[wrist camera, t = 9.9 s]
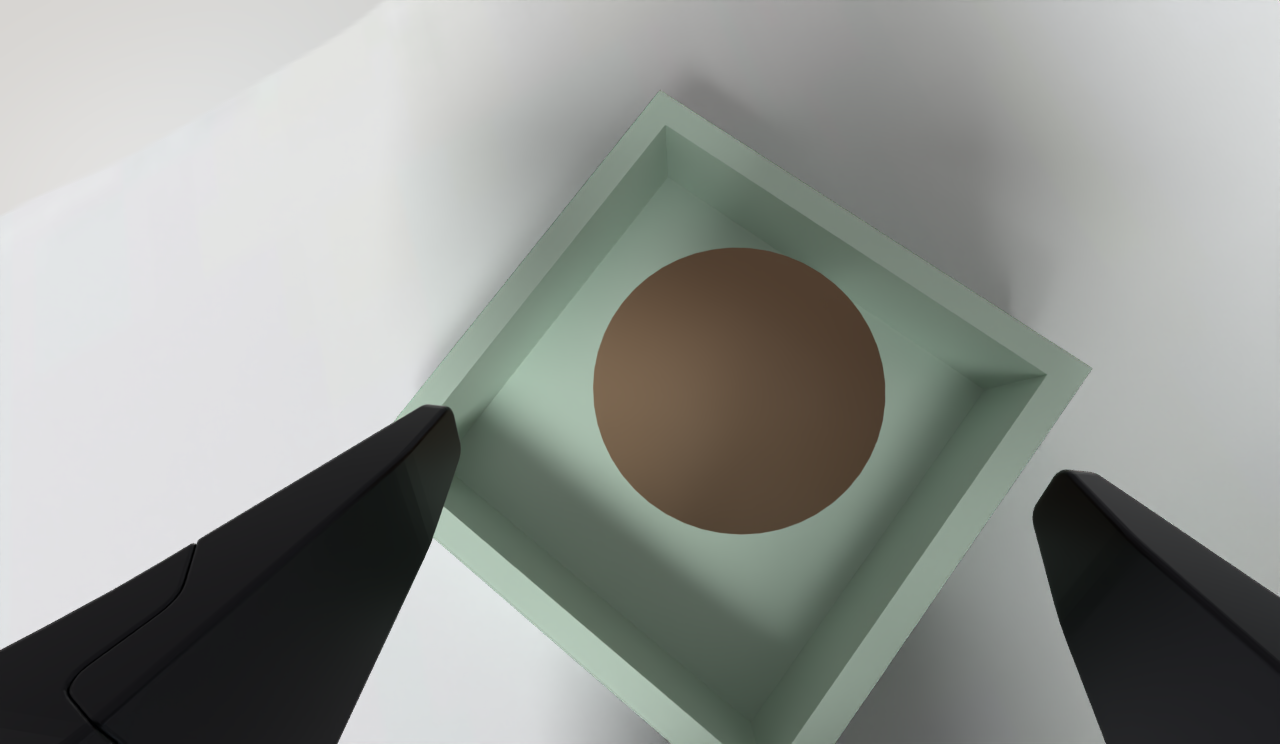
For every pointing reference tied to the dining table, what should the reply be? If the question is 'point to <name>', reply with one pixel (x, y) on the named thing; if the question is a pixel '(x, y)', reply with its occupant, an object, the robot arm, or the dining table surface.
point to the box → (705, 560)
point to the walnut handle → (739, 390)
